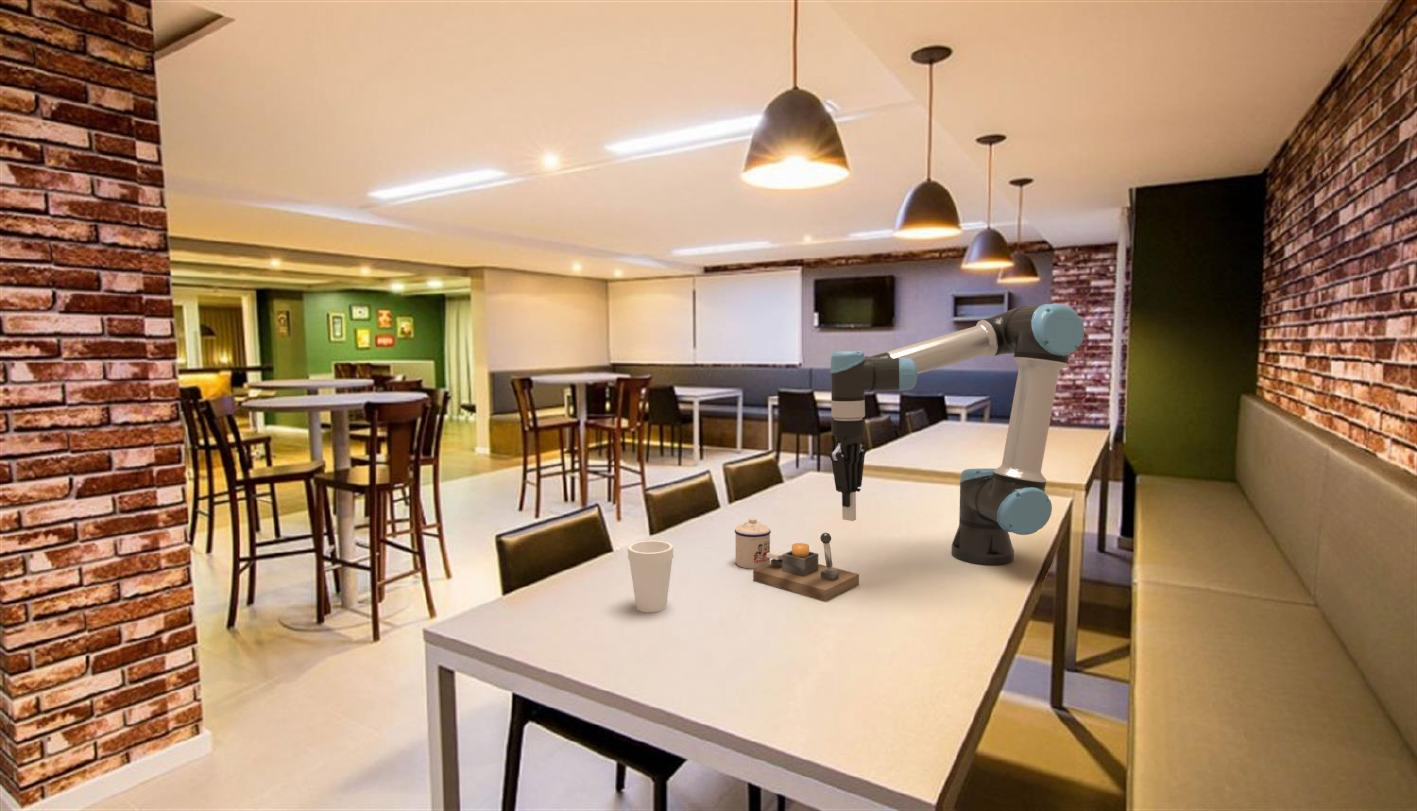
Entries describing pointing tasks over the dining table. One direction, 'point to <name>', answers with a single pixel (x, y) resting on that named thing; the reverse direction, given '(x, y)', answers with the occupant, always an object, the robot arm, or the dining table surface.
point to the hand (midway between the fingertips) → (849, 519)
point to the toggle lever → (827, 549)
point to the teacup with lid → (752, 544)
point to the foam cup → (650, 573)
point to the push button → (800, 550)
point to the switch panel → (806, 577)
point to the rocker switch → (775, 555)
